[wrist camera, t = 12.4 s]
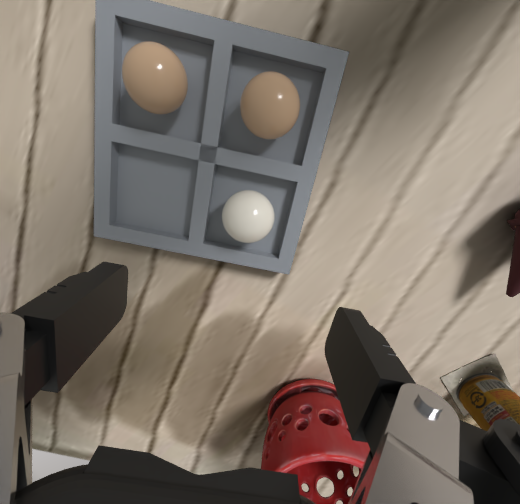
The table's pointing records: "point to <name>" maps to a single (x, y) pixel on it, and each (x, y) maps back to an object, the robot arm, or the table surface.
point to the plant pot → (312, 439)
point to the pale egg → (248, 216)
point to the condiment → (484, 392)
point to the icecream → (515, 259)
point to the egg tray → (205, 135)
